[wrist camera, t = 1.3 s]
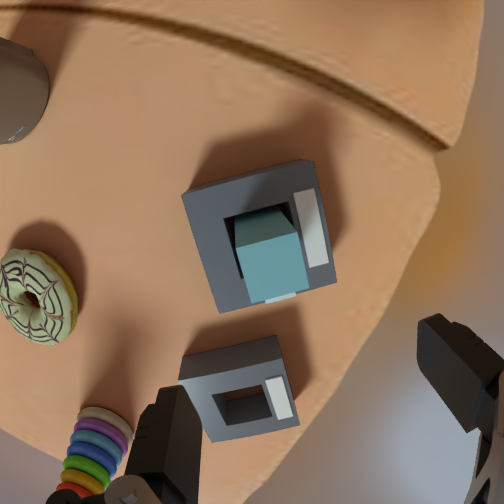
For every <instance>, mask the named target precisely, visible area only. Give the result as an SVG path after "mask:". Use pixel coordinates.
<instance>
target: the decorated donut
mask: <svg viewBox="0 0 504 504" xmlns="http://www.w3.org/2000/svg"><path fill="white" fill-rule="evenodd" d="M29 291H30V292H32V293H35V294H36V296H37V298H38V300H39V302H38V301H36V300H34V299H33V298H32V296H31V295H30V293H29ZM0 309H1V311H2V312H3V314H4V315H5V317H6V318H7V320H8V321H9V322H10V323H11V325H12V326H13V327H14V329H15V330H16V331H17V332H19V333H20V334H21V335H23V336H24V337H26V338H27V339H29V340H30V341H32V342H36V343H39V344H42V345H48V346H51V345H56V344H57V343H59V342H62V341H63V340H64V339H65V338H67V337H68V336H69V334H70V333H71V332H72V331H73V329H74V328H75V326H76V322H77V314H78V298H77V293H76V291H75V288H74V285H73V282H72V280H71V278H70V276H69V275H68V274H67V272H66V271H65V269H64V268H63V267H62V266H61V265H60V264H59V263H58V262H57V261H56V260H55V259H54V258H52V257H51V256H49V255H47V254H45V253H43V252H41V251H38V250H33V249H23V250H19V249H16V248H14V249H11V250H9V251H8V252H7V253H6V254H5V255H4V257H3V258H2V260H1V261H0Z"/></svg>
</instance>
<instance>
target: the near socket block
mask: <svg viewBox="0 0 504 504" xmlns="http://www.w3.org/2000/svg"><path fill="white" fill-rule="evenodd" d="M181 197H182V200H183V203H184V207H185V210H186V213H187V217H188V220H189V223H190V226H191V230H192V233H193V236H194V239H195V242H196V245H197V248H198V252H199V255H200V258H201V261H202V264H203V267H204V270H205V273H206V276H207V279H208V282H209V285H210V288H211V291H212V294H213V297H214V300H215V303H216V306H217V309H218V311H219V314H221V313H225V312H229V311H233V310H237V309H241V308H245V307H249V306H253V305H257V304H260V303H264V302H265V300H263V301H260V302H256V303H251V300H250V296H249V293H248V289H247V286H246V282H245V279H244V276H243V272H242V269H241V265H240V262H239V259H238V255H237V252H236V248H235V245H234V241H233V238H232V234H231V231H230V227H229V224H228V220H227V217H230V216H234V215H238V214H241V213H245V212H249V211H253V210H256V209H260V208H264V207H268V206H272V205H276V204H280V203H283V206H284V210H285V214H286V218H287V220H288V221H289V222H290V223H291V225H292V226H293V227H294V228H295V230H296V231H297V233H298V237H299V242H300V246H301V251H302V255H303V260H304V265H305V270H306V274H307V279H308V284H309V288H308V289H304V290H301V291H297V292H295V293H296V294H298V293H301V292H305V291H309V290H312V289H316V288H319V287H323V286H326V285H330V284H333V283H337V279H336V272H335V267H334V261H333V255H332V249H331V244H330V239H329V233H328V228H327V223H326V218H325V213H324V208H323V203H322V198H321V194H320V189H319V184H318V180H317V175H316V171H315V167H314V162H313V161H310V160H297V161H293V162H289V163H284V164H280V165H276V166H272V167H268V168H264V169H260V170H256V171H252V172H248V173H245V174H241V175H237V176H233V177H230V178H226V179H222V180H219V181H215V182H212V183H208V184H205V185H201V186H198V187H194V188H191V189H188V190H187V191H186V192H185V193H183V194H182V195H181Z"/></svg>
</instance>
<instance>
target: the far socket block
mask: <svg viewBox="0 0 504 504" xmlns="http://www.w3.org/2000/svg"><path fill="white" fill-rule="evenodd" d="M178 382H179V384H180V385H183V386H184V387H185V389H186V391H187V393H188V395H189V397H190V399H191V401H192V403H193V405H194V407H195V408H196V410H197V412H198V414H199V416H200V419H201V423H202V426H203V428H204V430H205V432H206V433H207V435H208V437H209V438H210V440H211V442H212V443H213V442H219V441H226V440H232V439H238V438H243V437H249V436H254V435H259V434H264V433H268V432H273V431H277V430H282V429H286V428H290V427H294V426H298V425H300V423H299V419H298V415H297V411H296V407H295V402H294V399H293V395H292V391H291V387H290V384H289V380H288V376H287V372H286V369H285V365H284V361H283V358H282V354H281V350H280V346H279V343H278V339H277V335H275V336H271V337H267V338H263V339H259V340H255V341H251V342H247V343H243V344H238V345H234V346H230V347H226V348H221V349H217V350H212V351H207V352H203V353H198V354H193V355H188V356H183V358H182V363H181V367H180V372H179V377H178ZM260 384H262V387H263V390H264V393H263V394H259V395H255V396H250V397H245V398H241V399H236V400H231V401H226V399H225V397H224V395H223V392H228V391H233V390H238V389H242V388H247V387H252V386H256V385H260Z"/></svg>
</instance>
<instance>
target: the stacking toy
mask: <svg viewBox="0 0 504 504" xmlns="http://www.w3.org/2000/svg"><path fill="white" fill-rule="evenodd" d="M132 439H133V435H132V431H131V429H130V427H129V425H128V424H127V423H126V422H125V421H124V420H123V419H122V418H121V417H120V416H118V415H117V414H115V413H113V412H111V411H109V410H107V409H104V408H100V407H87V408H84V409H82V410H81V411H80V412H79V414H78V416H77V423H76V425H75V426H74V433H73V434H72V435H71V438H70V446H69V447H68V449H67V458H66V459H65V460H64V462H63V468H64V471H63V472H62V473H61V475H60V476H61V477H60V479H61V482H62V483H61V484H59V485H58V486H57V488H56V491H57V490H60V489H71V490H74V491H75V492H76V493H77V494H79V495H80V496H81V497H87V496H92V495H96V494H101V493H105V490H104V489H105V488H107V487H108V485H109V484H110V478H111V477H113V476H114V475H115V473H116V470H117V466H119V465H120V463H121V461H122V457H124V456H125V455H126V453H127V451H128V446H129V445H130V444H131V442H132Z"/></svg>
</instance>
